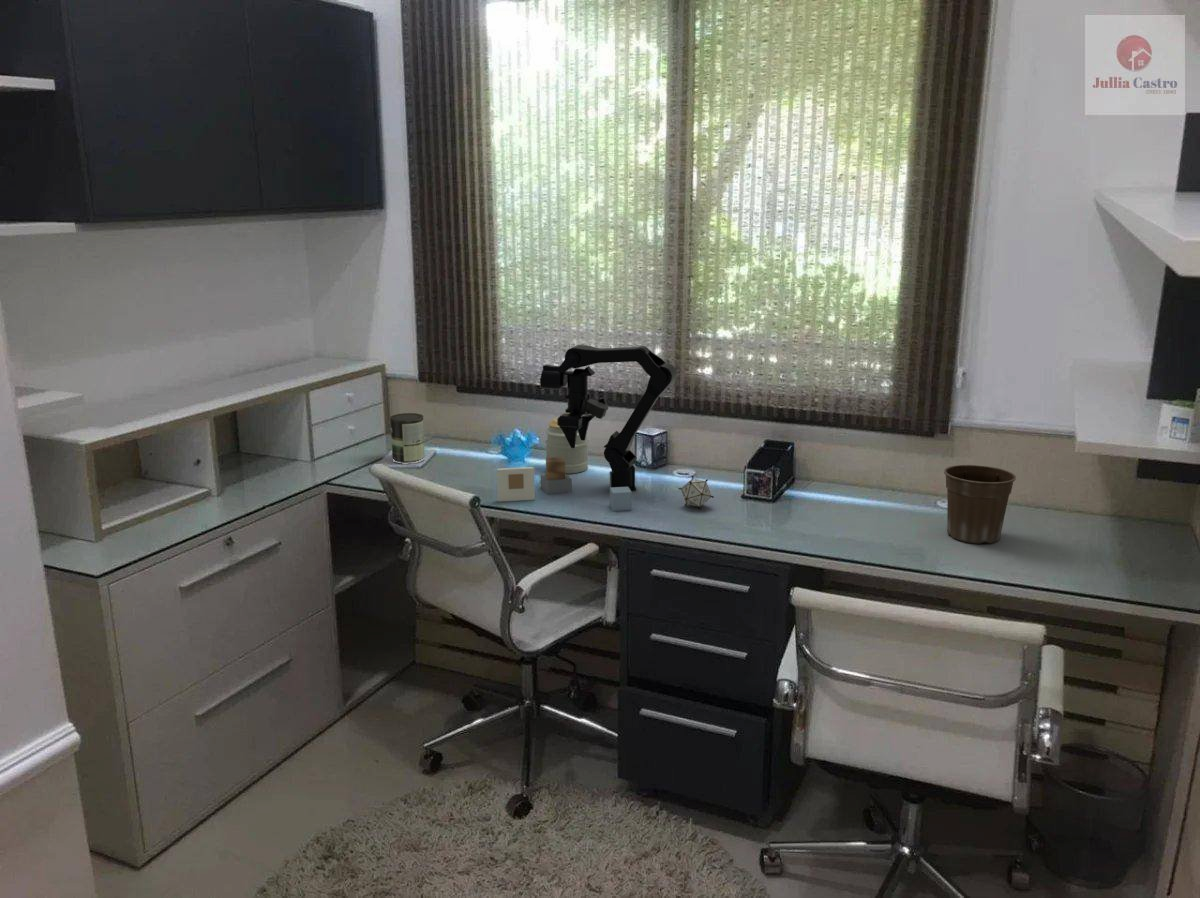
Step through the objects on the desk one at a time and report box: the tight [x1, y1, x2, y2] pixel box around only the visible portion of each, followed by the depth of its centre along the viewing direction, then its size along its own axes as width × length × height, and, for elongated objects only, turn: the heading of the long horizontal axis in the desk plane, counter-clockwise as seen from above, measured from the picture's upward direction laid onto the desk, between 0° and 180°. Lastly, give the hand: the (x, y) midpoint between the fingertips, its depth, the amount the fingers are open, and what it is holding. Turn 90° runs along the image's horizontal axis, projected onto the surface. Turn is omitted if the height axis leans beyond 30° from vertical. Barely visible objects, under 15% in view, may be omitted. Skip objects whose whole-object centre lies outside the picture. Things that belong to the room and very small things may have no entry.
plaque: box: [496, 466, 536, 502], centre depth 264 cm, size 10×2×9 cm, turn 100°
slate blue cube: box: [609, 486, 633, 512], centre depth 258 cm, size 5×5×5 cm
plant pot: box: [943, 464, 1017, 544], centre depth 235 cm, size 16×16×16 cm
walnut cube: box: [545, 457, 565, 480], centre depth 273 cm, size 5×5×5 cm
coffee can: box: [389, 412, 426, 463], centre depth 303 cm, size 10×10×14 cm
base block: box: [540, 473, 573, 495], centre depth 274 cm, size 7×7×4 cm
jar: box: [545, 411, 589, 475], centre depth 293 cm, size 13×13×18 cm
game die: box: [678, 475, 715, 511], centre depth 258 cm, size 9×8×10 cm
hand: (578, 444), depth 276 cm, fingers open, 9 cm apart
